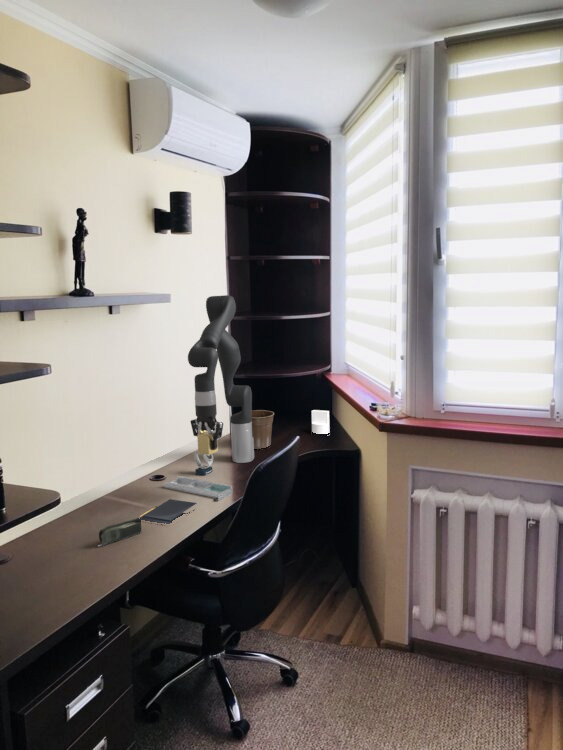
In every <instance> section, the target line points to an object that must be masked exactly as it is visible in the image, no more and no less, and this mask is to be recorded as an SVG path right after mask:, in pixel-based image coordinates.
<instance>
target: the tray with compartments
mask: <svg viewBox="0 0 563 750" xmlns="http://www.w3.org/2000/svg"><path fill="white" fill-rule="evenodd" d="M163 486H164V487H163V488H166V489H170V490H174V491H180V492H185V493H189V494H195V495H199V496H205V497H208V498H213V501H215V500H216V501H215V502H220V501H221V500H224V499H225V498H228V497H229V496H231V495H233V485H230V484H225V483H220V482H213V481H209V480H208V481H207V480H203V479H197V478H193V477H187V476H182V475H177V477H176V479H173V480H171V481H163Z"/></svg>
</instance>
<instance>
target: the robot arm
mask: <svg viewBox="0 0 563 750" xmlns="http://www.w3.org/2000/svg"><path fill="white" fill-rule="evenodd" d="M236 304H237V303H236V301H235V298H234V297H233V296H232V295H227V294H225V295H212V296H208V297H207V298H206V300H205V309H206V313H207V318H208V321H209V324H207V325H206V326H205V327H204V329H203V330H202V333H201V335H200V337H199V339H198V340H197V341H196V342H195V343H194V345H193V346H192V347H191V348H190V349H189V350H188V351H189V352H188V354H187V362H188V363H189V365H190V366H191V367H193V368H206V371H205V372H203V373H198V374H196V375H194V408H195V416H196V417H197V418H195V419H194V418H193V419H191V420H190V425H191V430H192V433H193V437H197V434H201V433H203V432H206V431H208V434H209V435H210V436H211V450H216V449H217V444H218V439H220V438H221V439H222V436H223V429H224V422H222V421H221V422H219V421H218V420H217V418H216V417H217V412H218V411H217V397H216V390H215V389H216V387H215V386H216V385H215V376H216V369H217V364H219V366H220V372H221V375H222V383H223V390H224V397H225V403H226V404H227V405H228V407H233V408H234V407H235V408H238V407H239V408H241V411H239V412H236V413H234V414H232V415H231V416H230V434H231V435H230V436H231V437H230V438H231V439H230V440H231V456H232V462H234V463H237V464H245V463H250V462H252V461H254V459H255V450H254V438H253V437H252V410H253V405H252V403H253V392H252V389H251V386H249V385H235V384H234V376H235V374H236V372H237V370H238V368H239V366H240V364H241V359H242V356H241V351H240V346H239V344H238V342H237V340H236V339H234V337H233V336H232V335H231V334H230V332H228V331H227V328H228V326H229V324H230V323H231V321H232V320H233V319H234V316H235V314H236V311H237V310H236V309H237V305H236ZM218 362H219V363H218ZM213 434H214V436H213Z"/></svg>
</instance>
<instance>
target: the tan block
mask: <svg viewBox="0 0 563 750" xmlns="http://www.w3.org/2000/svg"><path fill="white" fill-rule="evenodd" d="M213 436H214V434H213ZM196 437H197V451H198V454H200V455H203V454H206V455H210V454H215V453H217V452H219V449H218V448H219V447H218V446H219V445H218V443H217V449H216V450H211V436H210V435H209V434H208V431H206V432H203V433H201V434H197V436H196Z"/></svg>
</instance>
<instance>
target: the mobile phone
mask: <svg viewBox="0 0 563 750" xmlns="http://www.w3.org/2000/svg"><path fill="white" fill-rule="evenodd" d="M140 532H141V533H142V522H141V520H140V519H139V518H138V517H136V518H133V519H129V520H125V521H123V522H122V521H121V522H117V523H114V524H110V525H107V526H106V527H104V528H102V529H101V530H99V532H98V538H99V542H100V543H99V544H97V546H96V547H97V548H100V547H102V546H106V545H109V544H112V543H115V542H114V541H116V542H118V540H119V541H121V539H122V540H124V538H125V539H128V538H130V537H129V536H131V537H133V536H132V535H135V534H137V535H139V534H141V533H140ZM138 533H139V534H138ZM135 536H136V535H135ZM127 537H128V538H127ZM111 542H112V543H111ZM108 543H109V544H108Z"/></svg>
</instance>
